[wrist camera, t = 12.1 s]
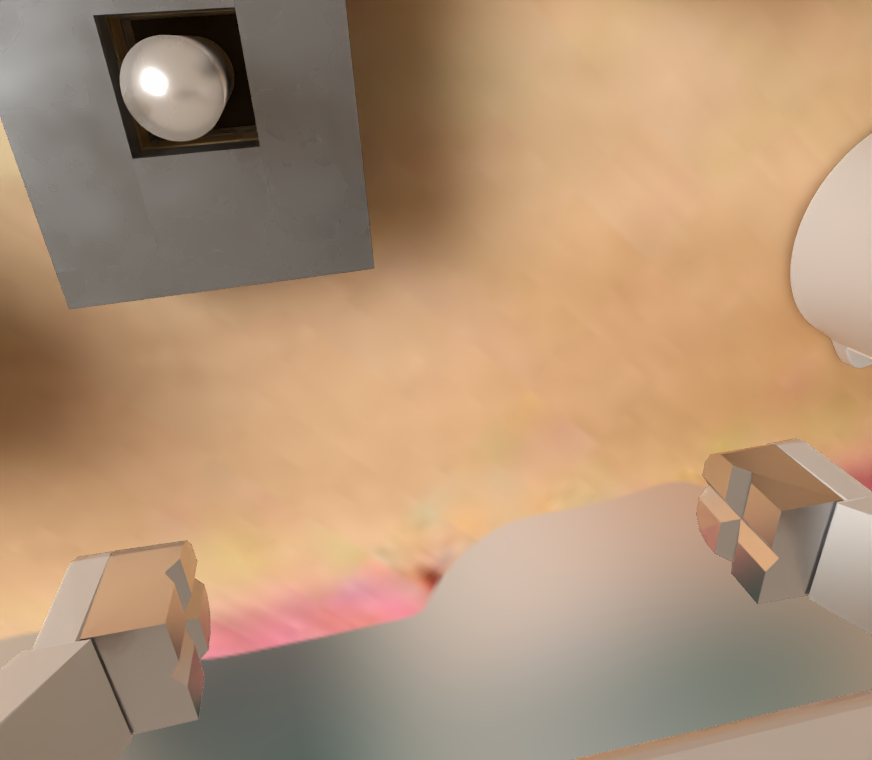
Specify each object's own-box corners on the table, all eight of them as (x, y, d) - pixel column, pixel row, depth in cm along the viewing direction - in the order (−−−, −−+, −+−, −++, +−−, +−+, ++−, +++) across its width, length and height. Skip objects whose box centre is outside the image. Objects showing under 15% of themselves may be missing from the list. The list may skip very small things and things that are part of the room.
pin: (240, 107, 29) (233, 136, 21) (172, 113, 29) (135, 145, 20) (226, 33, 28) (211, 31, 19) (154, 38, 27) (106, 38, 19)
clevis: (290, -297, 24) (301, -410, 18) (353, 226, 33) (374, 268, 27) (-72, -306, 22) (-199, -438, 16) (106, 256, 31) (69, 309, 25)
